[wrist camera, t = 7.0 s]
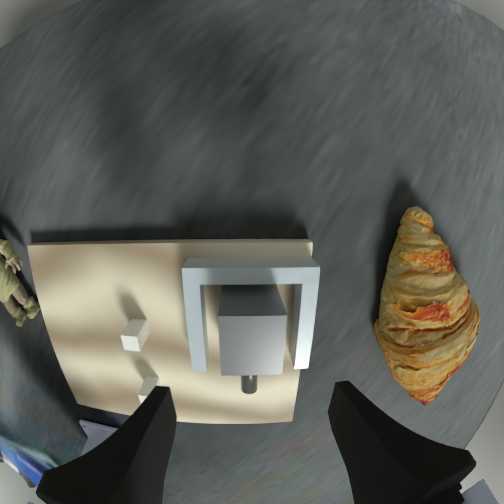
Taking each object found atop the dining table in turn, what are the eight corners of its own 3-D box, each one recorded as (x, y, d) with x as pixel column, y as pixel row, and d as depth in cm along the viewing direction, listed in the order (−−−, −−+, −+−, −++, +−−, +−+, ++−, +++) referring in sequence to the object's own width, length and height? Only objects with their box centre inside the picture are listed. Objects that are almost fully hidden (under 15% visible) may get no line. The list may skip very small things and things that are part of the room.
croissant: (351, 212, 22) (342, 249, 15) (459, 182, 17) (498, 207, 10) (389, 382, 27) (383, 438, 20) (467, 367, 22) (475, 422, 15)
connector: (271, 375, 20) (278, 416, 16) (225, 376, 20) (223, 417, 16) (276, 282, 18) (288, 315, 14) (221, 283, 18) (216, 316, 14)
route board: (290, 413, 23) (292, 421, 22) (81, 397, 22) (77, 403, 21) (308, 239, 18) (312, 242, 17) (34, 242, 17) (27, 245, 16)
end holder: (302, 352, 20) (307, 368, 18) (196, 354, 19) (192, 370, 17) (311, 257, 18) (320, 267, 16) (187, 258, 17) (181, 267, 15)
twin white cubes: (161, 387, 20) (155, 407, 18) (148, 386, 20) (141, 405, 18) (146, 319, 18) (136, 336, 16) (132, 318, 18) (120, 335, 16)
